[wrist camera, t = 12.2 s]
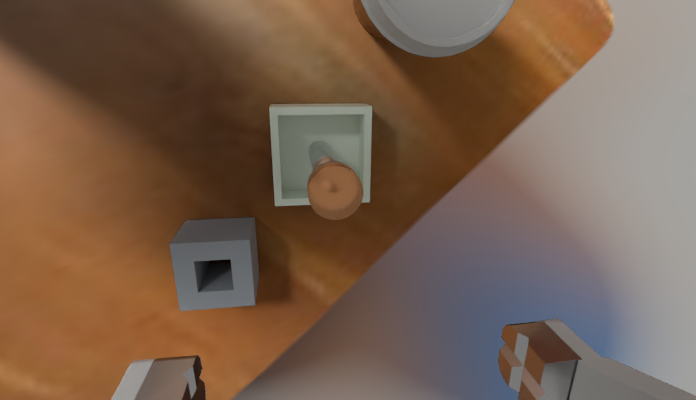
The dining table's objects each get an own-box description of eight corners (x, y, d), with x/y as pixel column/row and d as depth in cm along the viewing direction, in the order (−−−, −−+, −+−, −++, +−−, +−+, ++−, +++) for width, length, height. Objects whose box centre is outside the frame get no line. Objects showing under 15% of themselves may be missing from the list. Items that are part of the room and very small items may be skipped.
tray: (270, 103, 32) (269, 107, 29) (365, 103, 33) (372, 106, 30) (276, 195, 35) (274, 206, 32) (363, 191, 36) (369, 202, 33)
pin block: (185, 220, 34) (169, 244, 29) (254, 217, 35) (249, 239, 30) (194, 279, 36) (179, 311, 31) (259, 275, 37) (255, 305, 32)
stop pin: (300, 134, 33) (307, 167, 21) (338, 133, 33) (364, 165, 22) (301, 170, 34) (308, 221, 22) (338, 169, 34) (363, 218, 23)
